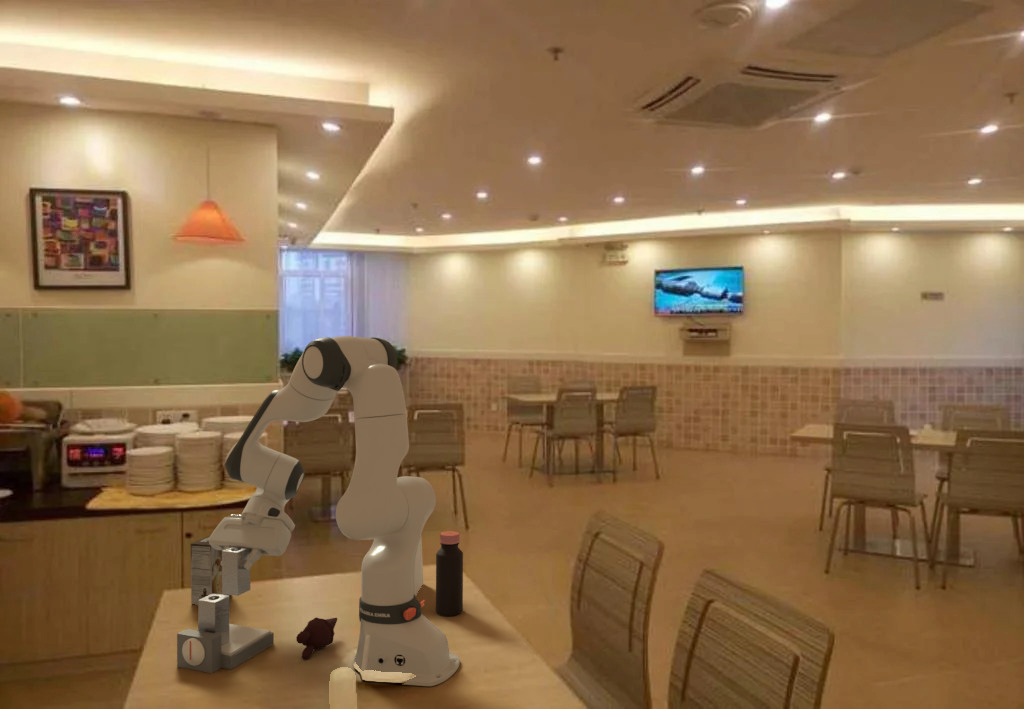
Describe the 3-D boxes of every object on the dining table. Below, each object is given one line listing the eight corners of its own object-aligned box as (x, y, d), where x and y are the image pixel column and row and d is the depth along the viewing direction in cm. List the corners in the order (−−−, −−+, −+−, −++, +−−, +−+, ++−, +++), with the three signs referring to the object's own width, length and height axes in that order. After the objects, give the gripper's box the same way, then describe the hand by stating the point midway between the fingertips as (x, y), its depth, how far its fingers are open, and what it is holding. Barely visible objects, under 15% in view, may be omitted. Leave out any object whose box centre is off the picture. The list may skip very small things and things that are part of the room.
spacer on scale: (229, 641, 163) (229, 595, 163) (215, 649, 159) (215, 602, 159) (213, 638, 164) (212, 593, 164) (198, 646, 160) (198, 599, 160)
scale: (273, 643, 170) (273, 613, 170) (219, 676, 153) (219, 642, 153) (223, 635, 174) (223, 605, 174) (165, 665, 158) (165, 633, 158)
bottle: (431, 609, 192) (432, 531, 191) (456, 605, 195) (457, 528, 194) (441, 618, 186) (442, 538, 185) (466, 614, 189) (467, 535, 188)
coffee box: (211, 593, 203) (211, 534, 203) (232, 595, 202) (232, 535, 201) (190, 605, 194) (189, 543, 194) (212, 607, 193) (212, 544, 192)
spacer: (250, 589, 178) (249, 547, 178) (237, 595, 174) (237, 552, 174) (235, 587, 179) (234, 545, 179) (222, 593, 175) (221, 550, 175)
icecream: (319, 606, 176) (281, 635, 162) (346, 601, 174) (310, 631, 160) (327, 634, 176) (290, 666, 162) (354, 630, 174) (318, 662, 160)
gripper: (220, 506, 186) (191, 556, 177) (289, 512, 179) (263, 564, 170) (232, 520, 191) (205, 570, 181) (301, 526, 184) (276, 578, 175)
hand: (234, 567), depth 176 cm, fingers closed on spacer, 4 cm apart
